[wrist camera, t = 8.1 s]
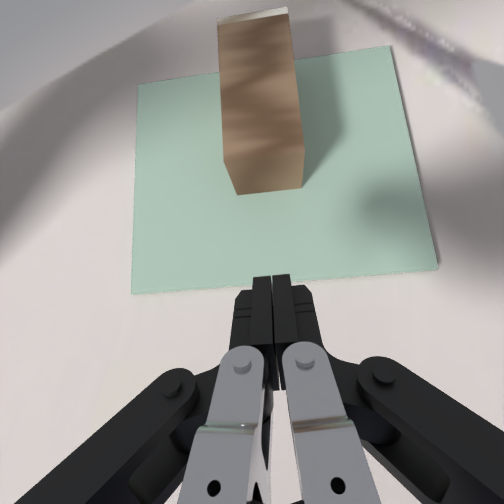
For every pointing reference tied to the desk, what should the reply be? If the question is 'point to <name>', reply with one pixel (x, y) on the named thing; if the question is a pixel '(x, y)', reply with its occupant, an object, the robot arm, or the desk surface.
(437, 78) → the desk surface
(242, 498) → the robot arm
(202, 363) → the desk surface
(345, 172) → the sage mat
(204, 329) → the desk surface
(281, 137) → the walnut block
